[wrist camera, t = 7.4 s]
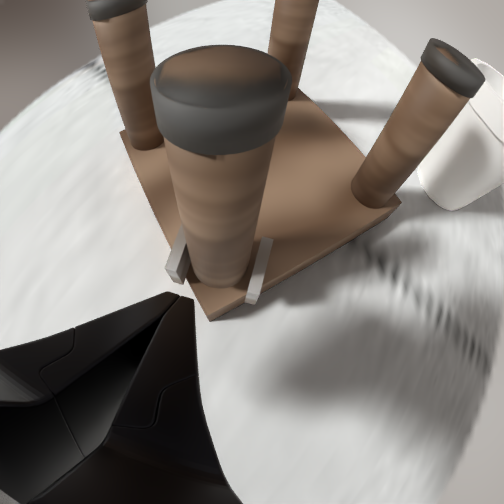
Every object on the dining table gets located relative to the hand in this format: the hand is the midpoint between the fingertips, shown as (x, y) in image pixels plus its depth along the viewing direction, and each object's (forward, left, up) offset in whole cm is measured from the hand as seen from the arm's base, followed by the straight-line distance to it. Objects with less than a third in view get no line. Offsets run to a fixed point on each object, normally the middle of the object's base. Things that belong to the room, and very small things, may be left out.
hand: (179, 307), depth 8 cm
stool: (+12, 0, -10) cm, 16 cm away
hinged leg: (+4, 0, -6) cm, 7 cm away
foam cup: (+19, -18, -10) cm, 28 cm away
